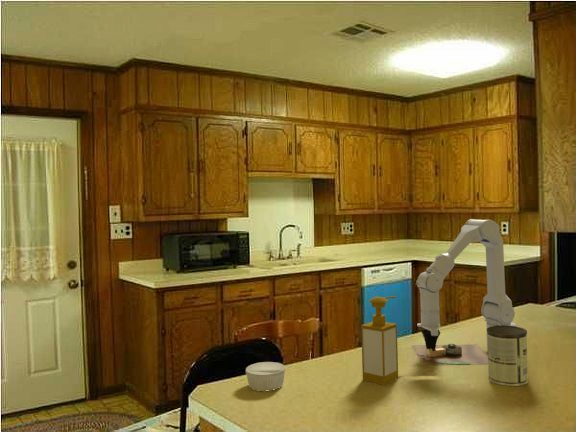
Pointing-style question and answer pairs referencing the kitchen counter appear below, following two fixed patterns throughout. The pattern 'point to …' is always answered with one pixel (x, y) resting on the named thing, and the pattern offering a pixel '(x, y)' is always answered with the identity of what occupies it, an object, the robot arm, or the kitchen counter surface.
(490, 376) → the coffee can
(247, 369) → the ramekin
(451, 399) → the kitchen counter surface
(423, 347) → the brown flat square slab
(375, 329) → the soap bottle
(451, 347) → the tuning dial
